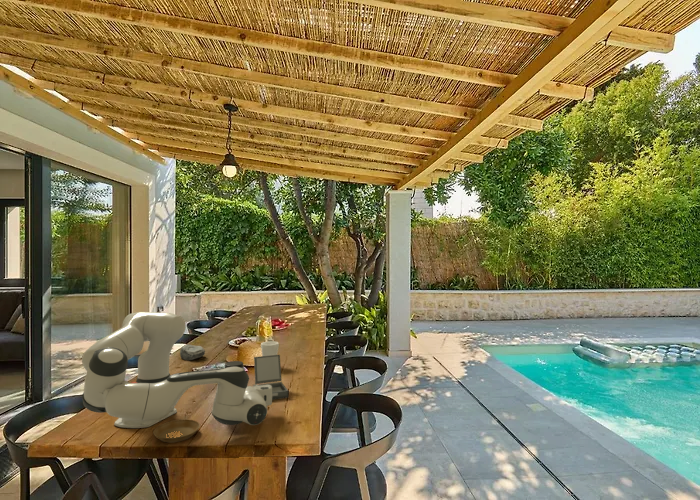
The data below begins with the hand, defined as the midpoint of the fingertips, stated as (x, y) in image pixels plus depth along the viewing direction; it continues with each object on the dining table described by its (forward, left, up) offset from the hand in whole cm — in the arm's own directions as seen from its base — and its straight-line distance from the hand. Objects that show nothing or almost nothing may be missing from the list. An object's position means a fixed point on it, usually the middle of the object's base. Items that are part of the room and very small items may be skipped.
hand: (242, 388), depth 166 cm
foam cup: (+59, +8, -9) cm, 60 cm away
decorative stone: (+70, +58, -9) cm, 92 cm away
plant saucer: (-25, +14, -9) cm, 30 cm away
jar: (+22, +13, -9) cm, 27 cm away
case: (+19, -5, -8) cm, 22 cm away
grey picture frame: (+24, -3, +1) cm, 24 cm away
